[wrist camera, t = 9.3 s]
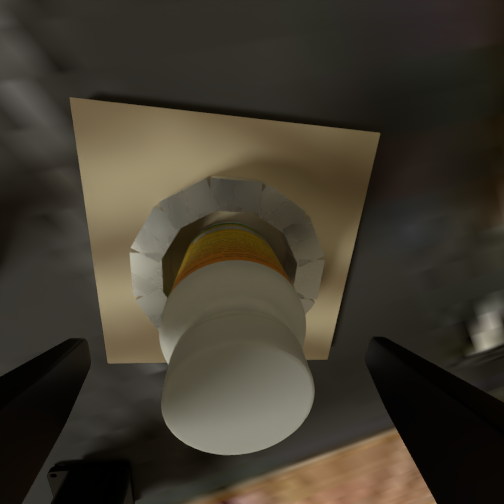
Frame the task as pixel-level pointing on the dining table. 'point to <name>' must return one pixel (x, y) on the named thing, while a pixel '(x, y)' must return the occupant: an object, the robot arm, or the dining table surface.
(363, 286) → the dining table surface
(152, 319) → the steel ring collar
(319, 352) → the birch base plate
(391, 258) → the dining table surface
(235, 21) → the dining table surface
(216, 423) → the supplement bottle
